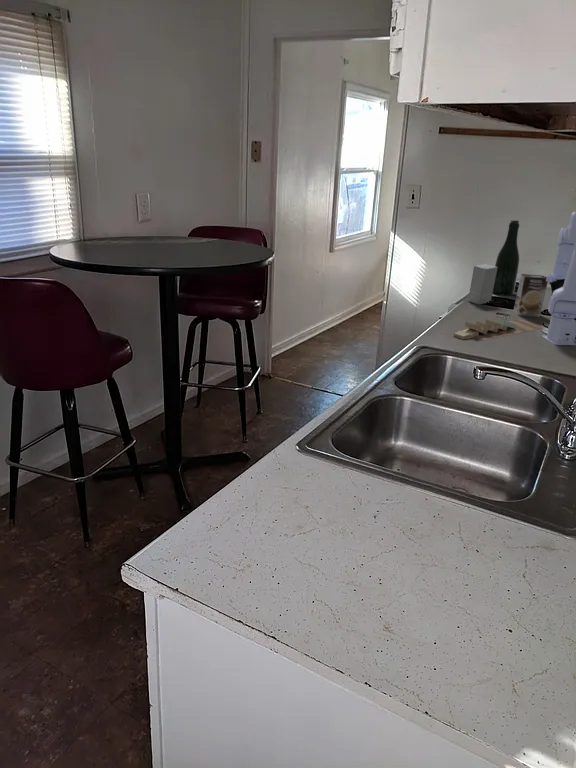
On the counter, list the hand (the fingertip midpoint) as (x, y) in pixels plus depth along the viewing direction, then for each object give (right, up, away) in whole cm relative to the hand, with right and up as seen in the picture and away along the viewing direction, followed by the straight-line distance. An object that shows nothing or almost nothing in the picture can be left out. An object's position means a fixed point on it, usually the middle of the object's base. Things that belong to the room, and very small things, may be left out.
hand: (555, 299), depth 222 cm
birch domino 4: (-22, -11, -5) cm, 25 cm away
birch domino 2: (-31, -13, -11) cm, 35 cm away
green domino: (-17, -10, -2) cm, 20 cm away
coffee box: (-3, -4, +19) cm, 19 cm away
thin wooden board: (-21, -12, -4) cm, 25 cm away
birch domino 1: (-35, -13, -14) cm, 40 cm away
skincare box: (-17, +4, +37) cm, 41 cm away
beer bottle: (0, +11, +56) cm, 57 cm away
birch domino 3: (-26, -12, -8) cm, 30 cm away
